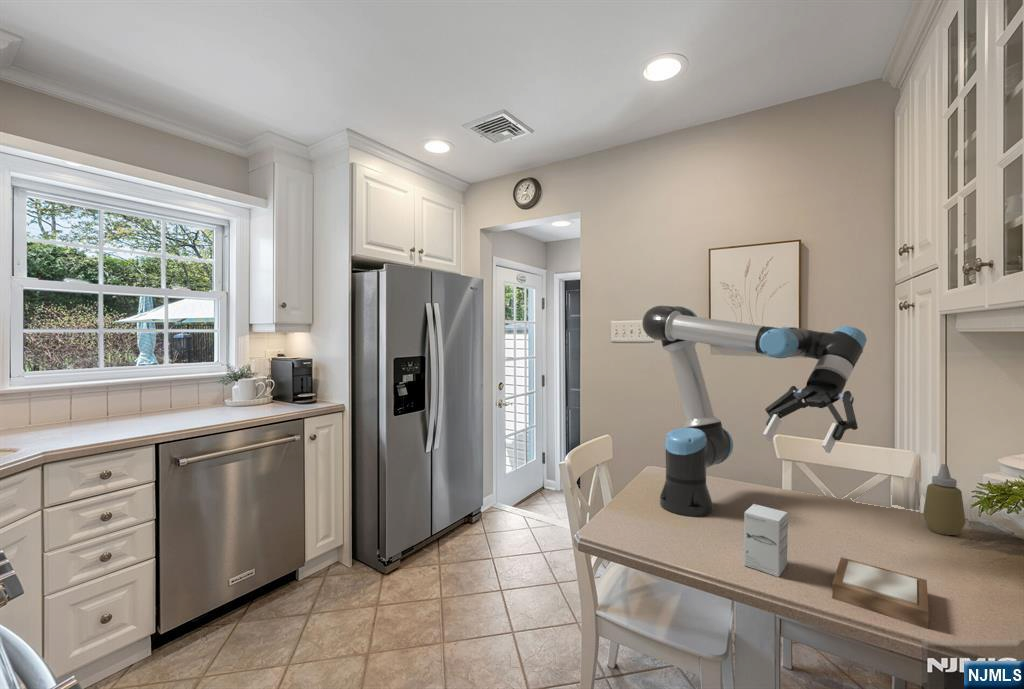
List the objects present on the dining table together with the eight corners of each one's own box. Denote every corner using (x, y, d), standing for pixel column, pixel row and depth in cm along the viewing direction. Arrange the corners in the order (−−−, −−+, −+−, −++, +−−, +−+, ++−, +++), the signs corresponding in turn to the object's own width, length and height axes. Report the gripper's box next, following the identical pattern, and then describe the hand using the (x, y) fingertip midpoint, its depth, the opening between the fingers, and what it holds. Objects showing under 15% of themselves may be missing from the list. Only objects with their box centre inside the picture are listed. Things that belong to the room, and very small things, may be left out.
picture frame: (832, 597, 88) (832, 581, 88) (840, 570, 99) (840, 555, 98) (928, 628, 79) (928, 610, 79) (926, 594, 89) (926, 578, 89)
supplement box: (742, 566, 101) (742, 511, 100) (753, 554, 106) (753, 502, 106) (779, 578, 95) (779, 520, 95) (788, 565, 101) (788, 511, 100)
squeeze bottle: (963, 531, 118) (964, 464, 117) (967, 541, 112) (967, 471, 111) (922, 522, 123) (923, 458, 123) (923, 532, 117) (924, 465, 117)
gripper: (894, 391, 102) (861, 465, 95) (785, 382, 124) (752, 442, 117) (883, 370, 99) (848, 444, 93) (774, 364, 122) (739, 424, 115)
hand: (794, 443), depth 105 cm, fingers open, 13 cm apart
